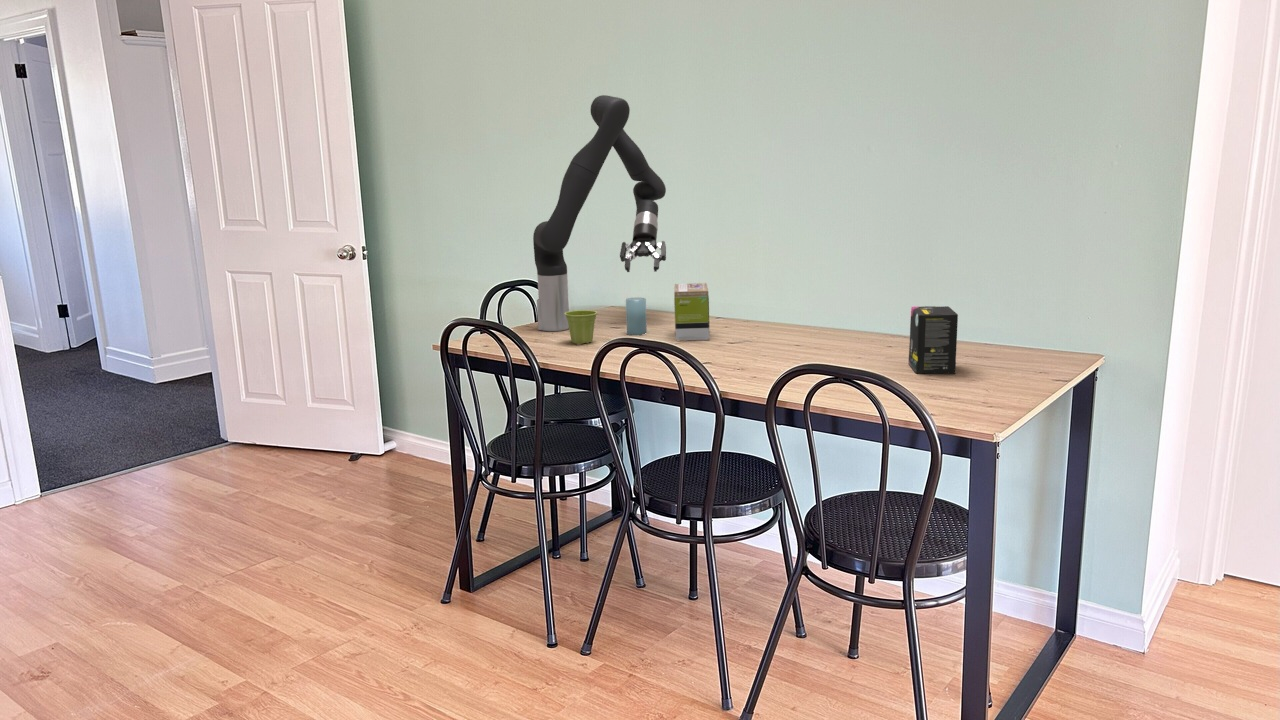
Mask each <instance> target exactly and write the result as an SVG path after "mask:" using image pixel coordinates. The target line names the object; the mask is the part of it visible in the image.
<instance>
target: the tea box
mask: <svg viewBox="0 0 1280 720" xmlns="http://www.w3.org/2000/svg"><path fill="white" fill-rule="evenodd" d="M673 295H674V300H673V301H674V327H675V329H674V330H675V341H677V340H697V341H710V297H709V289H708V284H707V282H701V283H700V282H699V283H696V282H695V283H675V284H674V293H673Z"/></svg>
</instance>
